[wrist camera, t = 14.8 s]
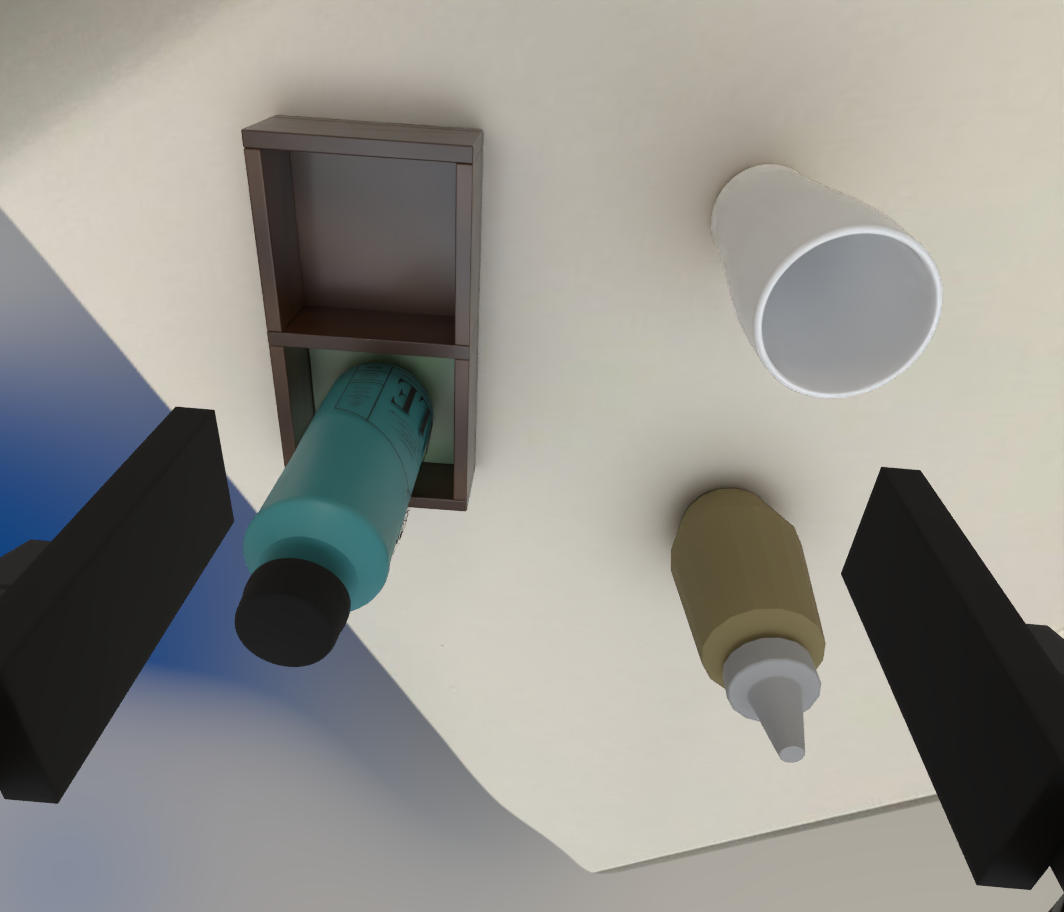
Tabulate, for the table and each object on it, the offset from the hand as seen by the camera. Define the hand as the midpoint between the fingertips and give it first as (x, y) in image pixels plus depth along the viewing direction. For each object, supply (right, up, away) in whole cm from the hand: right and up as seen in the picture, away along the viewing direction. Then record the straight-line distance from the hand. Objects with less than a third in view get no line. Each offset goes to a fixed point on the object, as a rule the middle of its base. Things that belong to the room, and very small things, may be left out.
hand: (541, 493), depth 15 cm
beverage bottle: (-9, +4, +30) cm, 32 cm away
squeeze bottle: (+13, -4, +35) cm, 38 cm away
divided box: (-9, +9, +29) cm, 31 cm away
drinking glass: (+12, +14, +25) cm, 31 cm away
